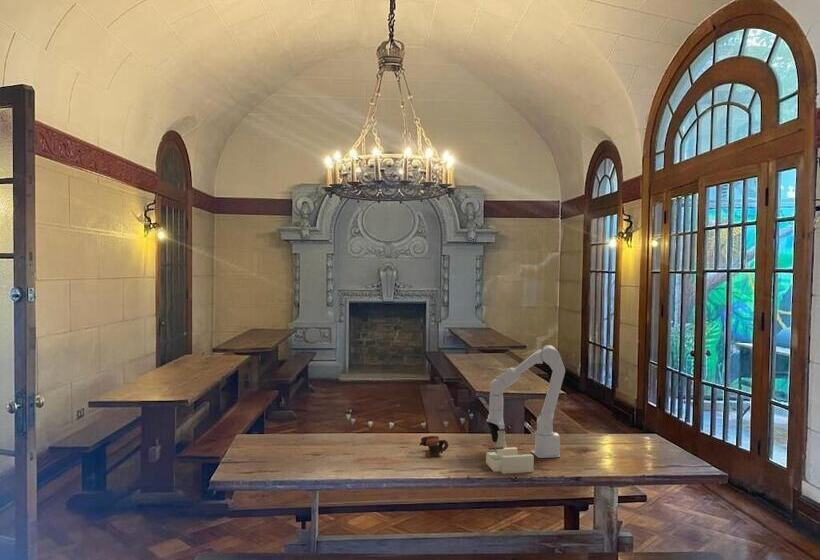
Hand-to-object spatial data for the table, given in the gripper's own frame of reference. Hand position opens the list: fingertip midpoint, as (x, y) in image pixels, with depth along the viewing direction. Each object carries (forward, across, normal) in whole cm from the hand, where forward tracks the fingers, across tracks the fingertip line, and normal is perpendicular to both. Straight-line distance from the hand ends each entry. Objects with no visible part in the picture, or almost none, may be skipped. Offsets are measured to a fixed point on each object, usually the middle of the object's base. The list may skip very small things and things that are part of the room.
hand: (495, 441), depth 239 cm
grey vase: (+4, +6, 0) cm, 8 cm away
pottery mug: (+4, -1, -26) cm, 26 cm away
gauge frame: (+4, +19, -1) cm, 19 cm away
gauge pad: (+4, +13, -2) cm, 14 cm away
